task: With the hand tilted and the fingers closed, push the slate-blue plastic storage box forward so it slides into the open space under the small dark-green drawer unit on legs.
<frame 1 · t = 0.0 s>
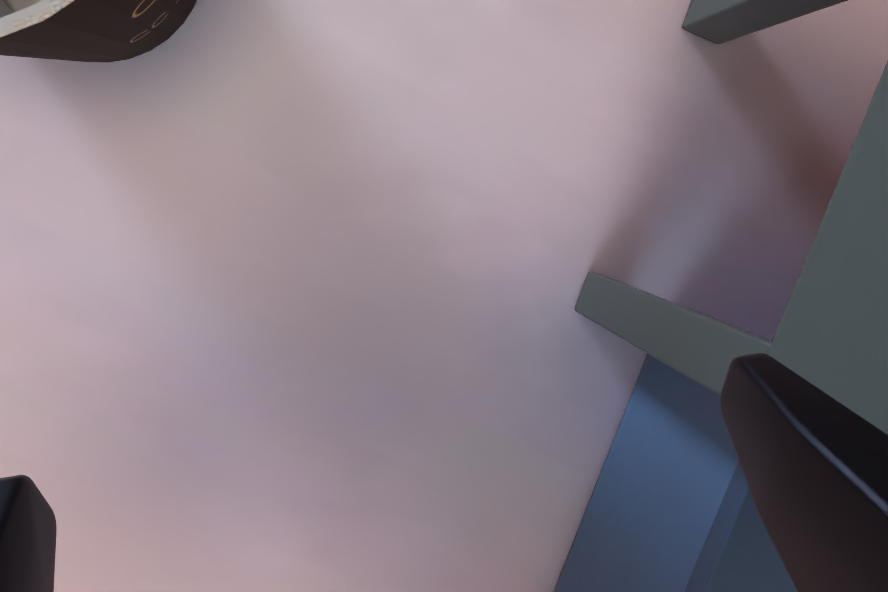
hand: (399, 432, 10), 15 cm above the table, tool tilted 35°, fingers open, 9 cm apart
drawer unit: (828, 228, 26), on the table
storage box: (713, 507, 27), on the table
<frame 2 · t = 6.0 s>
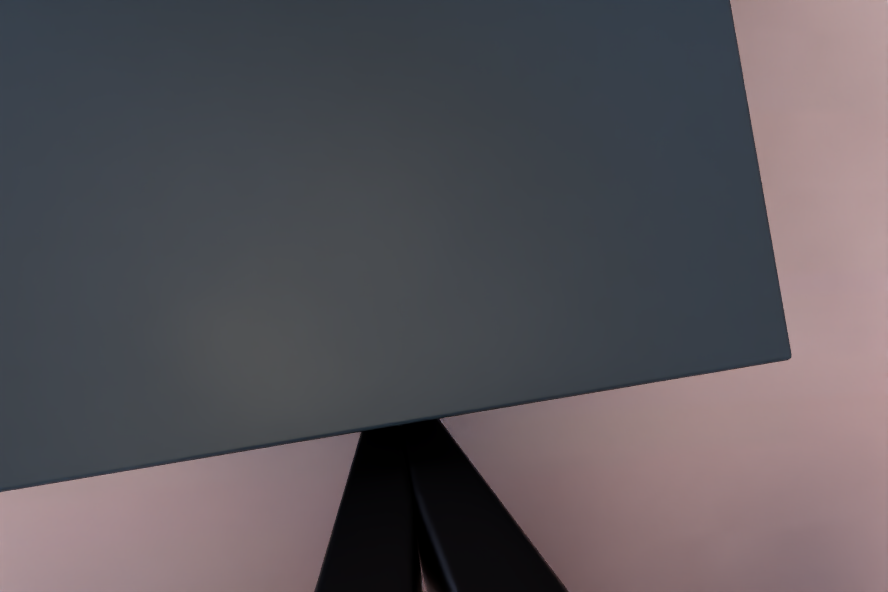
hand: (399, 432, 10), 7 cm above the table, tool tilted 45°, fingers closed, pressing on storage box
storage box: (345, 126, 17), on the table, touching gripper
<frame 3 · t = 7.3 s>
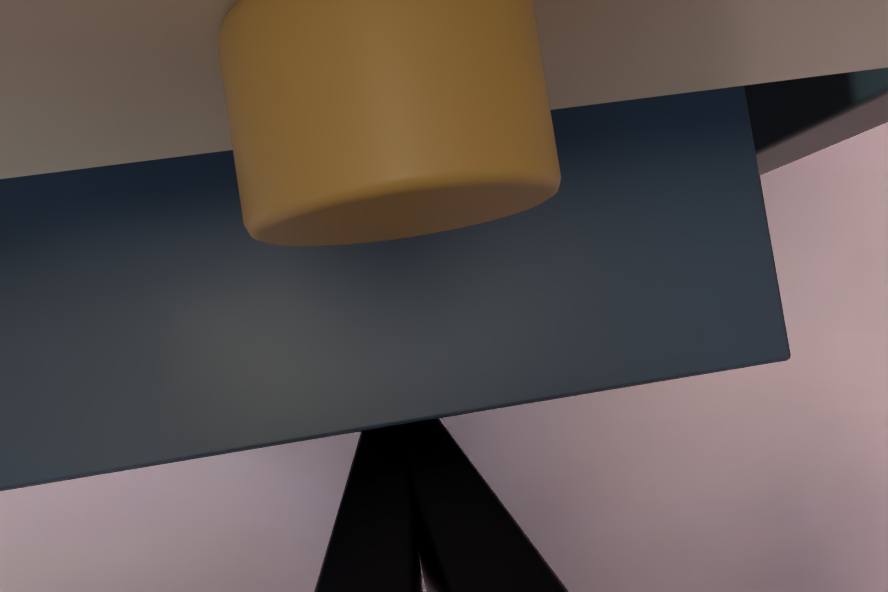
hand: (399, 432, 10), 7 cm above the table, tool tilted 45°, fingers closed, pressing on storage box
drawer unit: (326, 3, 17), on the table
storage box: (345, 126, 17), on the table, touching gripper
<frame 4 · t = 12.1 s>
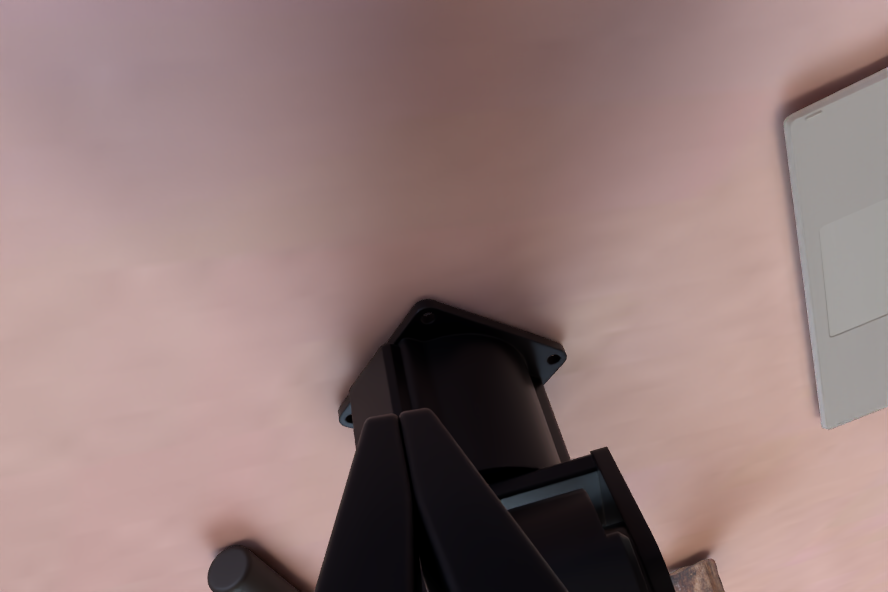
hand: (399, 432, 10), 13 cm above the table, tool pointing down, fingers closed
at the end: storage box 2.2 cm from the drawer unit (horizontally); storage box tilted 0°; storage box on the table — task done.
